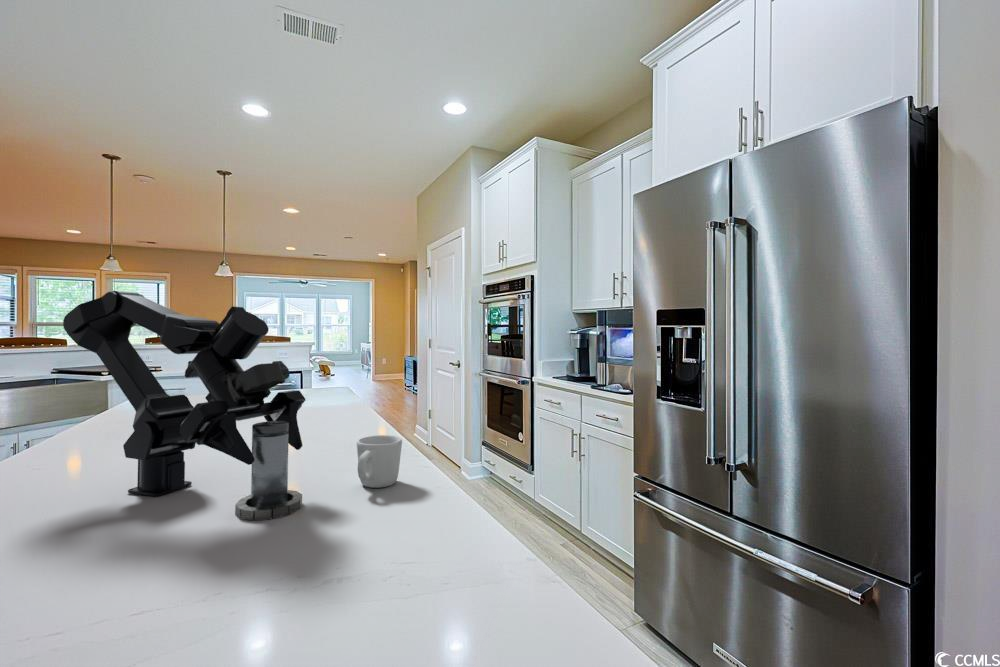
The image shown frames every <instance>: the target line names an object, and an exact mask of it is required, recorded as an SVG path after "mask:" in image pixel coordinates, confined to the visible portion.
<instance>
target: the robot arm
mask: <svg viewBox="0 0 1000 667" xmlns="http://www.w3.org/2000/svg"><path fill="white" fill-rule="evenodd" d="M62 325H63V329H64V331H65V332H66V334H67V335H68V336H69V338H70V339H71V340H72V341H73V342H74V343H75V344H76V345H77V346H78V347H81V348H83V349H85V350H88V351H90V352H92V353H95V354H96V356H98V358H99V359H100V361H101V363H102V364H103V365H104V367H105V368H106V369H107V371H108V372H109V374H110V375H111V377H112V379H114V381H115V383H116V384H117V386H118V387H119V388H120V390H121V391H122V393H123V394H124V396H125V397H126V399H127V400H128V401H129V403H130V404H131V406H132V408H133V409H134V411H135V414H134V419H133V422H132V423H133V424H132V429H133V432H132V433H131V434H130V436H129V437H128V438H127V440H126V441H125V442H124V443H123V452H124V457H125V458H127V459H132V460H133V459H134V460H137V483H136V484H137V486H136V487H132V488H128V489H127V493H128V494H134V495H135V494H136V495H141V496H143V495H144V496H151V497H160V496H162V495H164V494H167V493H170V492H174V491H176V490H181V489H183V488H186V487H188V486H192V484H193V483H192V481H189V480H186V479H185V478H186V472H185V471H186V462H185V452H184V451H188V450H193V449H196V448H195V447H196V445H197V446H206V447H207V448H211V449H214V450H216V451H219V452H221V453H224V454H226V455H228V456H230V457H232V458H234V459H236V460H238V461H240V462H242V463H245V464H246V465H249V466H251V465H252V463H253V462H254V460H255V459H254V457H253V455H252V449H251V448H249V445H248V444H247V442H246V441H245V439H244V438H243V436H242V435H241V433H240V431H239V430H238V428H237V421H238V422H239V421H245V420H246V421H247V420H251V419H255V418H260V417H264V419H265V420H266V421H265V422H268V421H285V422H288V423H289V436H288V445H290V446H291V447H292V448H293V449H295V450H297V451H298V450H301V448H303V441H302V437H301V434H300V433H301V432H300V429H299V424H298V418H297V415H298V411H299V410H300V409H301V408H302V406H303V404H304V403H305V402H306V398H305V396H304V395H303V393H302V392H301V391H300V390H297V389H296V390H295V389H293V390H292V389H291V390H286V391H280V392H278V393H276V395H275V396H274V397H273V398H272V400H270V401H269V402H265V398H268V397H269V395H271V394H272V391H270V389H272V388H274V387H276V386H279V385H282V384H285V383H286V380H287V379H289V377H290V371H289V368H288V366H287V365H286V364H285V362H283V361H282V360H273V361H272V362H271V363H270V362H269V363H268V362H267V363H260V364H255V365H252V366H251V367H249V368H246V370H244V369H243V368H242V367H241V365H240V363H239V362H238V361H237V360H246V359H248V357H250V355H251V354H252V353H253V352H254V350H255V349H256V348H257V347H258V345H259V344H260V343H261V341H263V339H264V338H265V337H266V336H267V334H268V333H269V327H268V324H267V322H266V321H265V320H263V319H261V318H259V317H258V316H257V315H255V314H253V313H252V312H249V311H246V309H245V308H244V306H243V307H242V306H231V307H230V308H229V310H227V312H226V315H225V316H224V318H223V319H222V320H221V322H220V323H219V322H218V321H217V320H214V319H208V318H204V317H199V316H198V317H197V316H191V315H185V314H181V313H179V312H177V311H174V310H172V309H170V308H168V307H166V306H164V305H163V304H160V303H158V302H155V301H153V300H151V299H149V298H146V297H145V296H144V295H143V294H140V292H139V293H138V292H132V291H122V290H121V291H120V290H113V291H108V292H106V293H104V294H103V295H102V296H101V297H98V298H95V299H92V300H89V301H86V302H83V303H80V304H78V305H76V306H75V307H74V308H72V310H70V311H68V313H66V314H65V316H64V317H63V322H62ZM136 325H138V326H141V327H142V328H145V329H146V330H149V331H150V332H152V333H154V334H156V335H157V336H159V341H160V344H162V345H163V346H164V347H165V348H167V350H169V351H171V353H173V354H175V355H193V354H196V355H195V356H194V358H193V359H192V360H189V361H188V362H187V367H186V369H185V370H184V377H185V378H187V379H188V378H189V379H190V378H199V379H200V381H201V382H202V383H203V385H204V387H205V388H206V390H207V391H208V393H207V394H206V396H205V400H206V401H205V402H200V403H196V404H195V406H193V405H192V403H191V401H190V399H189V398H188V396H186V395H185V394H175V395H170V394H168V393H167V392H166V391H165V389H164V388H163V387H162V385H161V383H159V381H158V380H157V378H156V377H155V375H154V374H153V373H152V371H151V369H150V368H149V366H147V363H146V362H145V361H144V360H143V358H142V357H141V356H140V354H139V353H138V352H137V350H136V349H135V347H134V346H133V344H132V343H131V342H130V339H129V338H130V334H131V331H132V328H133V327H135V326H136Z"/></svg>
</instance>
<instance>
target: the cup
mask: <svg viewBox="0 0 1000 667" xmlns="http://www.w3.org/2000/svg"><path fill="white" fill-rule="evenodd" d="M402 447H403V439H402V438H401V437H400V436H396V435H389V434H383V435H381V434H380V435H378V434H377V435H369V436H364V437H361V438H359V439H358V440H357V441H356V452H357V475H358V478H359V480H360V483H361V485H363V486H364V487H367V488H373V489H374V488H376V489H378V488H379V489H380V488H385V487H390V486H392V485H393V484H395V483H396V482H397V481H398V478H399V471H400V464H401V455H402V454H401V453H402Z"/></svg>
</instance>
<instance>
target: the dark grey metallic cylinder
mask: <svg viewBox="0 0 1000 667" xmlns="http://www.w3.org/2000/svg"><path fill="white" fill-rule="evenodd" d="M288 436H289V423H288V422H285V421H268V422H267V421H261V422H256V423H254V424H252V426H251V452H252V455H253V457H254V459H255V460H254V462H253V463H252V464H251V477H250V478H251V480H250V484H251V485H250V490H251V491H250V495H251V507H256V508H262V507H273V506H277V505H281V504H284V503H286V502H287V495H288V490H289V489H288V485H289V483H288V482H289V480H288V479H289V443H288Z"/></svg>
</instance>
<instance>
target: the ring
mask: <svg viewBox="0 0 1000 667" xmlns="http://www.w3.org/2000/svg"><path fill="white" fill-rule="evenodd" d="M302 505H303V494H302V493H300V492H299V491H298V490H290V489H288V495H287V502H286V503H284V504H281V505H277V506H273V507H262V508H256V507H251V494H248V495H246V496H245V497H242V498H240V499H238V501H237V502H236V503H235V505H234V506H235V508H234V509H235V511H234V512H235V514H234V515H235V516H236V517H237V518H238V519H240V520H245V521H255V522H256V521H257V522H258V521H269V520H274V519H278V518H282V517H283V518H284V517H286V516H289V515H292V514H293V513H295V512H297V511H299V510H300V509H301V508H302Z"/></svg>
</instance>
